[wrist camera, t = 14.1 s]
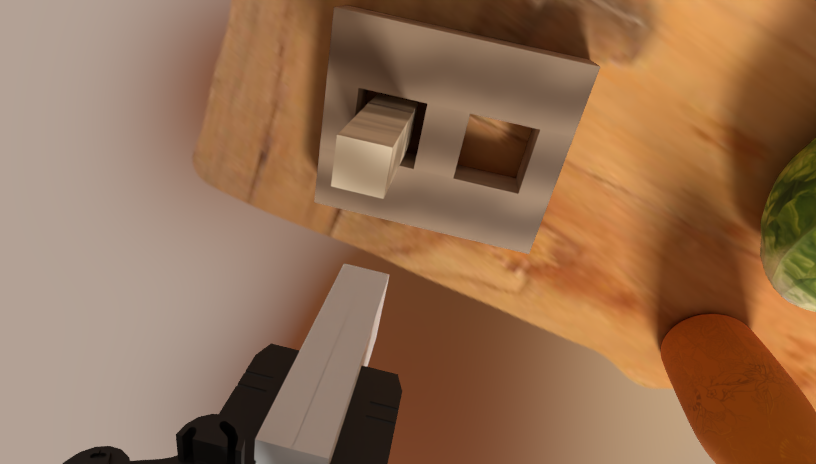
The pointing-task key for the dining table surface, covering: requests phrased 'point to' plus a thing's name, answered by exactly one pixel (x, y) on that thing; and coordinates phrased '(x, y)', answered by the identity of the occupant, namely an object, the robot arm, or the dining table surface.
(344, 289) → the robot arm
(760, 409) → the wine bottle
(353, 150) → the peg
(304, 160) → the dining table surface
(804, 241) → the lettuce
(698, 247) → the dining table surface
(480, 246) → the dining table surface
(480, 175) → the board
